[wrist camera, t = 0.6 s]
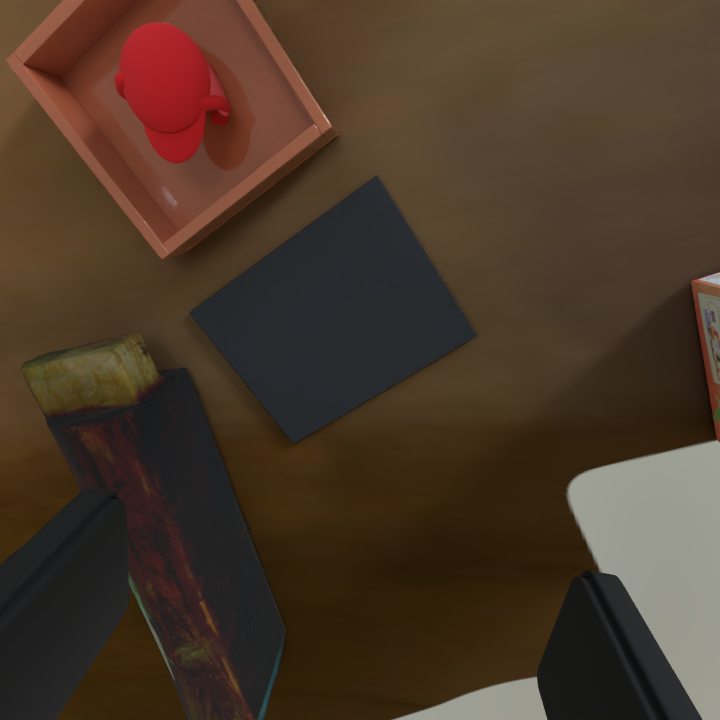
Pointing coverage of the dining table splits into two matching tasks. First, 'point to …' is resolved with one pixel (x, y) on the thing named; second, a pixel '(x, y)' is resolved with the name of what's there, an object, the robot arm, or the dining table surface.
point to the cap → (170, 89)
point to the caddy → (220, 142)
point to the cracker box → (710, 336)
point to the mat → (335, 314)
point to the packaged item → (169, 518)
